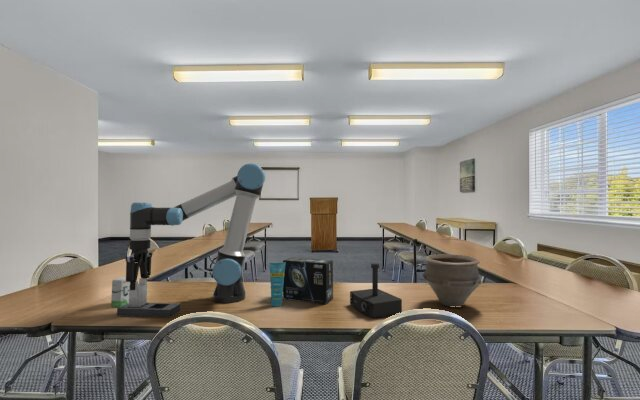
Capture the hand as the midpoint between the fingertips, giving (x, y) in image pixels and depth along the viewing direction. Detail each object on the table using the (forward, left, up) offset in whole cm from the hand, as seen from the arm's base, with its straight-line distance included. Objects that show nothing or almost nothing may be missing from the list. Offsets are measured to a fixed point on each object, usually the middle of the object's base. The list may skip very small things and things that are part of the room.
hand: (138, 295), depth 122 cm
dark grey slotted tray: (-5, 0, -7) cm, 9 cm away
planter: (-135, -22, -7) cm, 137 cm away
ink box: (+14, -10, -7) cm, 19 cm away
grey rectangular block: (0, 0, -5) cm, 5 cm away
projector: (-98, -13, -7) cm, 99 cm away
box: (-68, -26, -7) cm, 73 cm away
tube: (-55, -15, -7) cm, 58 cm away
